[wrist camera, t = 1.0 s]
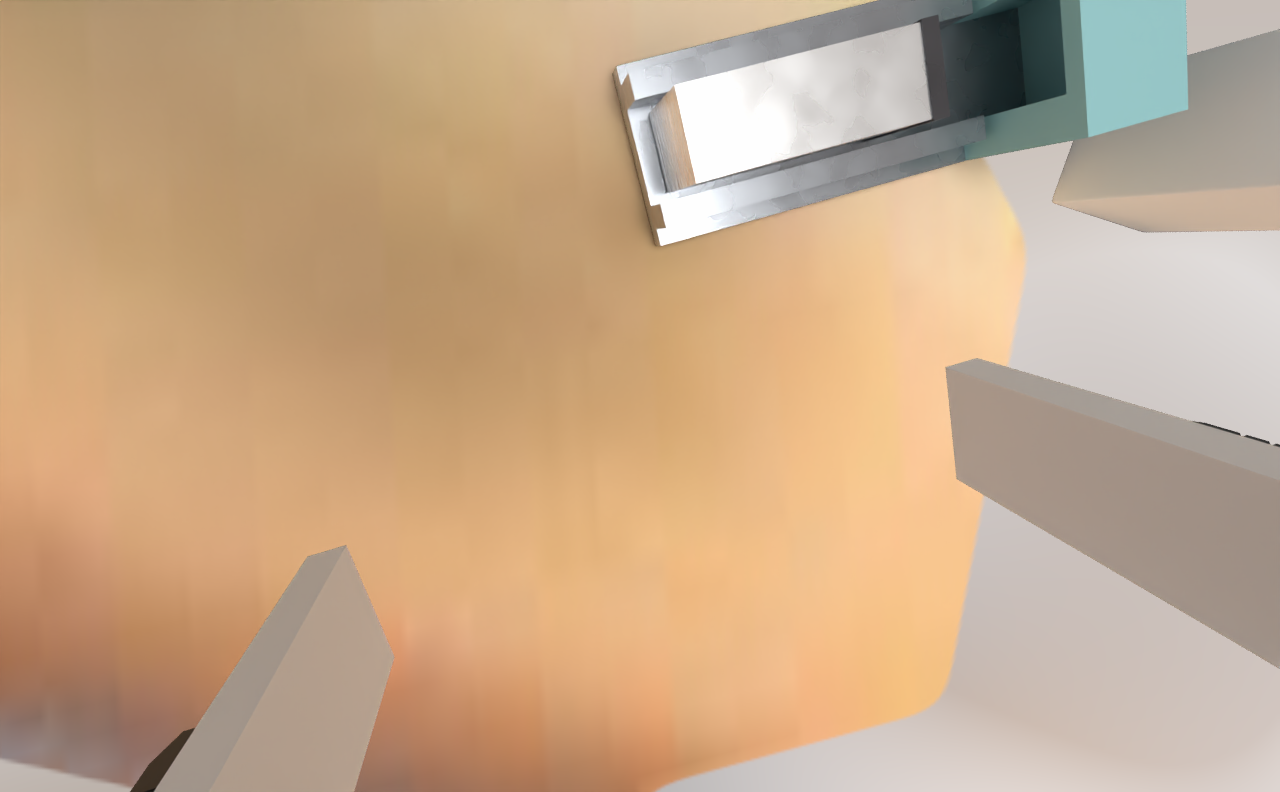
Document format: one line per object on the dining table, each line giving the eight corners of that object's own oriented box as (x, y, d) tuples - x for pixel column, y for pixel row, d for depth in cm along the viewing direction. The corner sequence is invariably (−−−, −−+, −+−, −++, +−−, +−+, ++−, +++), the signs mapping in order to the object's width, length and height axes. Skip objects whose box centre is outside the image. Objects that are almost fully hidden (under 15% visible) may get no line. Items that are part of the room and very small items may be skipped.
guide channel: (612, 73, 33) (623, 51, 29) (1010, -27, 35) (1069, -60, 31) (655, 245, 35) (670, 246, 32) (1025, 142, 38) (1081, 130, 34)
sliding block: (647, 111, 32) (674, 82, 26) (865, 55, 33) (938, 14, 27) (668, 195, 33) (697, 185, 27) (878, 138, 34) (950, 116, 29)
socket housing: (945, -17, 33) (1073, -97, 25) (1031, -38, 34) (1183, -124, 26) (965, 160, 36) (1088, 137, 28) (1045, 138, 36) (1188, 109, 28)
